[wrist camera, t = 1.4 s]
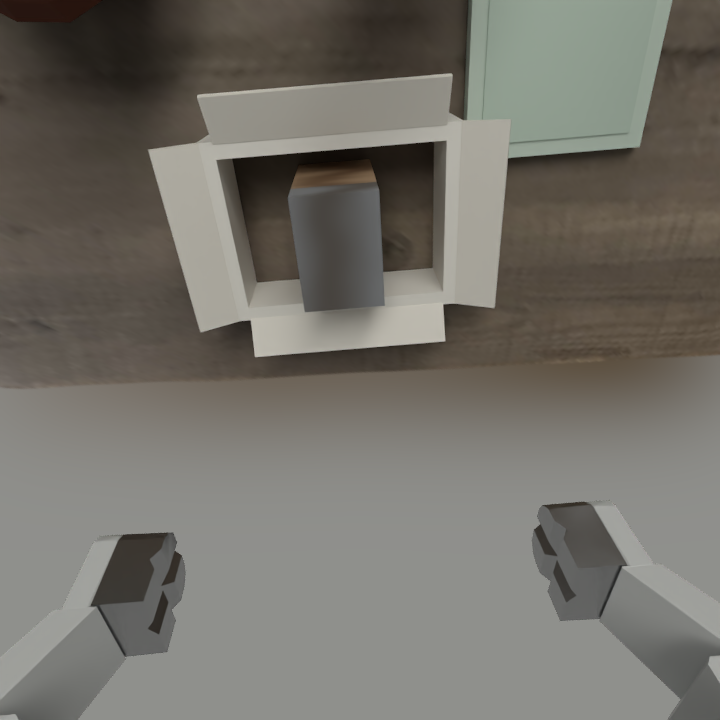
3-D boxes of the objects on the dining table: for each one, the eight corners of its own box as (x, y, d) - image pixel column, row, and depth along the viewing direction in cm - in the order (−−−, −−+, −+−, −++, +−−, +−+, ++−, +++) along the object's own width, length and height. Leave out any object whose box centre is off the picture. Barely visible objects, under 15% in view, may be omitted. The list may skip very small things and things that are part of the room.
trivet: (681, -83, 28) (693, -88, 27) (632, 144, 34) (640, 147, 33) (471, -65, 28) (476, -70, 27) (461, 158, 34) (465, 162, 33)
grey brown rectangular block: (369, 158, 34) (379, 190, 26) (375, 254, 38) (384, 305, 30) (298, 164, 34) (287, 197, 26) (311, 259, 38) (304, 312, 30)
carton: (489, 65, 31) (517, 67, 26) (474, 304, 40) (493, 338, 35) (163, 92, 31) (131, 100, 26) (222, 325, 40) (207, 362, 36)
